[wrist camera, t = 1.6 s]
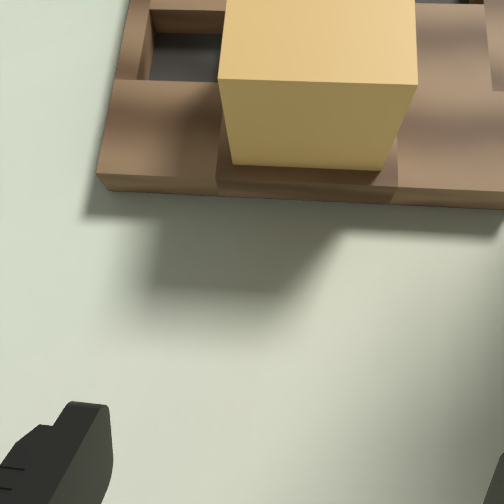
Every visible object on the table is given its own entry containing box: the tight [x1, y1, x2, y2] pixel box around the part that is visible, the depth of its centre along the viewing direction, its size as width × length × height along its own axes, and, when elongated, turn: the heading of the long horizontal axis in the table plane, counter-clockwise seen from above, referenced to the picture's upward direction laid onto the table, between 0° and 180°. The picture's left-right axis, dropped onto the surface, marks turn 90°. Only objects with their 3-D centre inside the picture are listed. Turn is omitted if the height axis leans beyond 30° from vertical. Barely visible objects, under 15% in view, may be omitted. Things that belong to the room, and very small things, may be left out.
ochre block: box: [218, 0, 418, 171], centre depth 27 cm, size 9×9×8 cm
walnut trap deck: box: [96, 0, 504, 210], centre depth 34 cm, size 27×26×2 cm
